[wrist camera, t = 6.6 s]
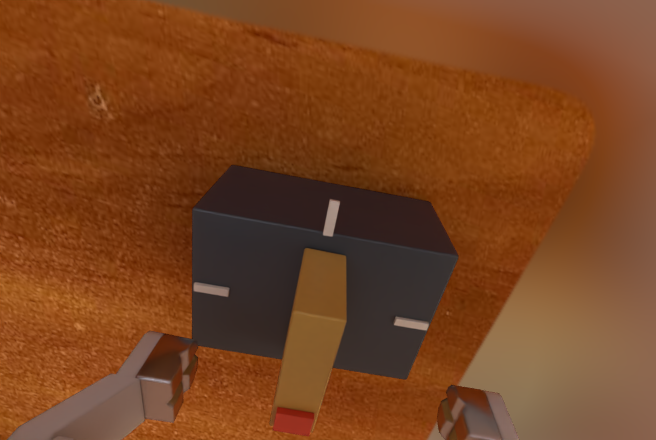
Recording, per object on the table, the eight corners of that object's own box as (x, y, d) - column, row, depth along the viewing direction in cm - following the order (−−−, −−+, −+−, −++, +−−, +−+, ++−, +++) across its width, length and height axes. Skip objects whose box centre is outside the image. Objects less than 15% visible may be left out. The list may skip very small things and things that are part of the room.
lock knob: (304, 246, 13) (291, 317, 10) (346, 254, 13) (347, 327, 10) (283, 349, 16) (267, 433, 12) (319, 355, 16) (312, 440, 12)
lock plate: (439, 176, 17) (474, 227, 12) (387, 324, 21) (399, 402, 17) (232, 136, 16) (189, 174, 12) (223, 296, 21) (189, 368, 16)
